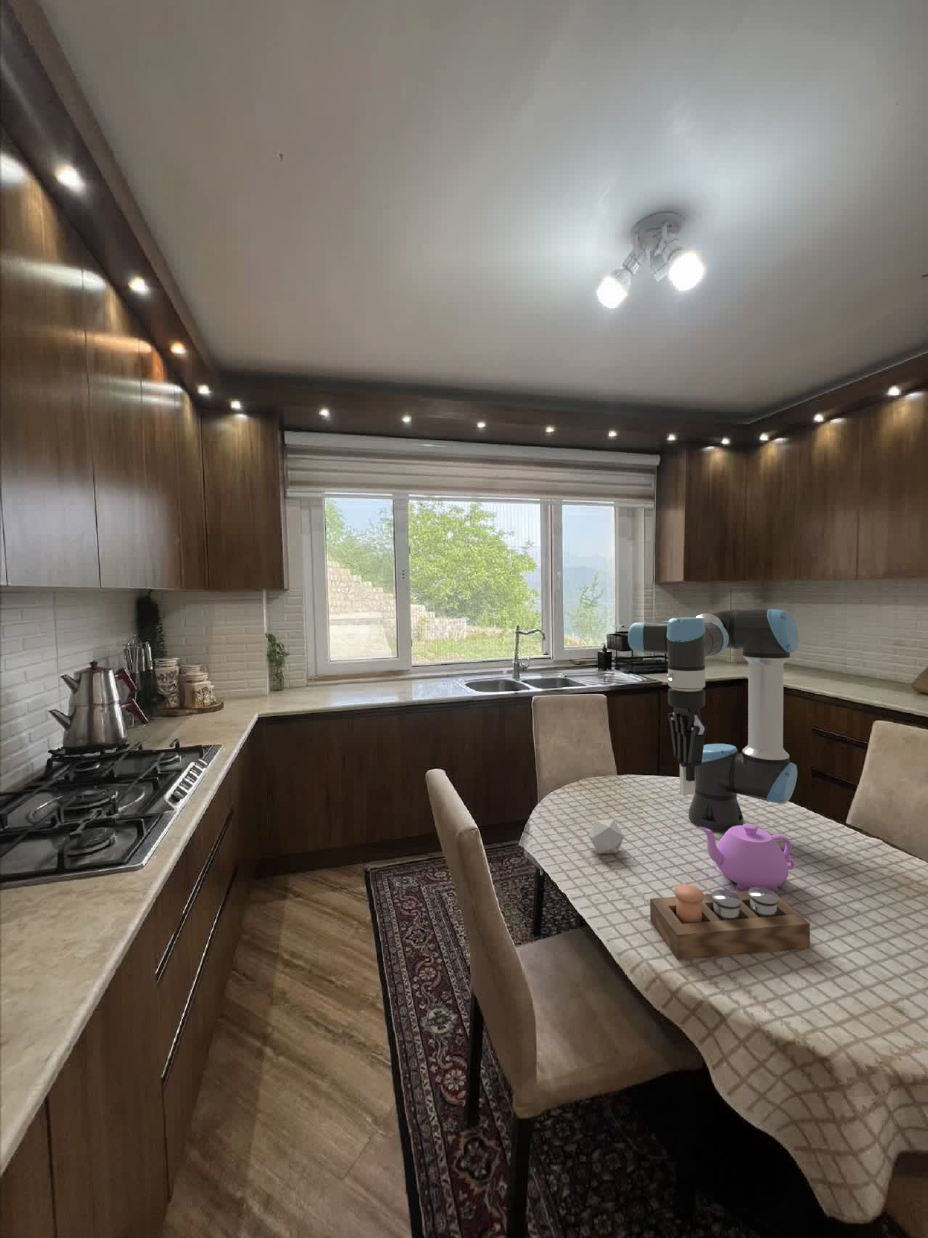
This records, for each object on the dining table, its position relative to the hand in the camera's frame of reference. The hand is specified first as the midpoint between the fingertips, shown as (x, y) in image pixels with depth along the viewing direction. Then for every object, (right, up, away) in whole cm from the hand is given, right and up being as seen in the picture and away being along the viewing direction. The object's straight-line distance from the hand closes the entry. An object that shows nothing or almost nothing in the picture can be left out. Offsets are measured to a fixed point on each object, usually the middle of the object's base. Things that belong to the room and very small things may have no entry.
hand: (687, 793), depth 116 cm
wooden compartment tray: (+5, -26, -8) cm, 28 cm away
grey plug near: (+12, -25, -8) cm, 29 cm away
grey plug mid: (+4, -25, -8) cm, 27 cm away
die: (-10, -25, +28) cm, 39 cm away
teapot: (+19, -25, +11) cm, 33 cm away
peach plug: (-4, -24, -9) cm, 26 cm away
